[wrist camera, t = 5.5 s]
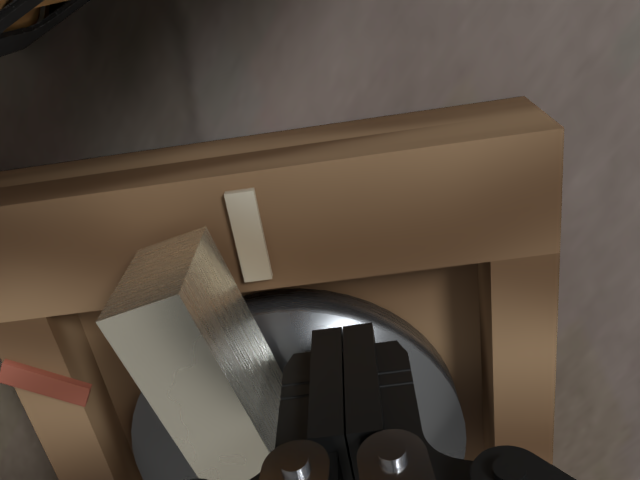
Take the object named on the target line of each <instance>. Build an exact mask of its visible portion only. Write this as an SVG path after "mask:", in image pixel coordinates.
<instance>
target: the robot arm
mask: <svg viewBox="0 0 640 480" xmlns="http://www.w3.org/2000/svg"><path fill="white" fill-rule="evenodd" d="M280 399H281V401H280V405H279V414H278V423H277V433H276V442H275V449H274V450H272V451H271V452H270V453H269V454H268V456H267V457H266V458H265V460H264V462H263V464H262V467H261V471H260V473H258V474H257V475H256V476H254V477H253V478H251V479H249V480H576V479H574V478H573V477H571V476H569V475H568V474H566V473H564V472H563V471H561V470H560V469H558V468H556V467H555V466H553V465H552V464H550V463H548V462H547V461H545V460H544V459H542V458H540V457H539V456H537V455H535V454H534V453H532V452H530V451H528V450H526V449H523V448H520V447H516V446H509V445H502V446H495V447H492V448H489V449H487V450H484V451H483V452H481V453H480V454H479V455H478V456H477V457H476V458H475V459H474V461H470V460H464V459H458V458H454V457H450V456H447V455H444V454H442V453H440V452H439V451H437V450H436V449H434V448H433V447H432V446H431V445H430V444H429V443H428V442H427V440H426V439H425V437H424V434H423V431H422V426H421V421H420V415H419V410H418V404H417V399H416V394H415V388H414V383H413V377H412V372H411V367H410V361H409V356H408V352H407V351H406V350H405V349H404V348H403V347H402V346H401V345H400V343H399V342H398V341H397V340H395V341H387V342H379V343H376V342H375V336H374V330H373V324H372V322H371V323H363V324H356V325H348V326H343V329H342V327H334V328H327V329H319V330H312V340H311V352H303V353H295V354H293V355H292V357H291V358H290V360H289V361H288V363H287V364H286V366H285V367H284V369H283V377H282V388H281V396H280ZM190 480H207V479H201V478H197V479H190Z"/></svg>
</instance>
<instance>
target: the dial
mask: <svg viewBox="0 0 640 480" xmlns="http://www.w3.org/2000/svg"><path fill="white" fill-rule="evenodd" d="M371 322H372V324H373V330H374V336H375V342H376V343H379V342H387V341H395V340H397V341H398V342H399V343H400V345H401V346H402V347H403V348H404V349H405V350H406V351H407V352H408V356H409V361H410V367H411V372H412V377H413V383H414V388H415V394H416V399H417V404H418V410H419V415H420V421H421V426H422V431H423V434H424V437H425V439H426V440H427V442H428V443H429V444H430V445H431V446H432V447H433V448H434V449H436V450H437V451H439V452H440V453H442V454H444V455H447V456H450V457H454V458H458V459H464V457H465V450H466V428H465V421H464V417H463V413H462V410H461V406H460V402H459V399H458V396H457V392H456V389H455V385H454V382H453V379H452V376H451V374H450V372H449V370H448V368H447V366H446V363H445V362H444V360H443V359H442V357H441V356H440V354H439V353H438V351H437V350H436V348H435V347H434V346H433V345H432V344H431V343H430V342H429V341H428V340H427V339H426V337H425V336H424V335H423V334H422V333H420V332H419V331H418V330H417V329H415V328H414V327H413V326H412V325H411V324H409V323H408V322H407V321H405V320H404V319H402V318H400V317H399V316H397V315H396V314H394V313H392V312H391V311H389V310H387V309H385V308H382V307H380V306H378V305H376V304H374V303H372V302H369V301H366V300H363V299H360V298H357V297H354V296H350V295H347V294H342V293H337V292H332V291H327V290H316V289H303V288H300V289H277V290H270V291H263V292H256V293H252V294H249V295H245V296H242V294H241V292H240V290H239V288H238V287H237V285H236V283H235V281H234V279H233V277H232V275H231V273H230V271H229V269H228V267H227V265H226V263H225V261H224V259H223V258H222V256H221V254H220V252H219V250H218V248H217V246H216V244H215V242H214V240H213V238H212V236H211V234H210V232H209V231H208V229H207V227H206V226H205V227H202V228H199V229H196V230H193V231H191V232H188V233H185V234H182V235H179V236H177V237H174V238H171V239H168V240H165V241H163V242H160V243H157V244H154V245H151V246H148V247H146V248H143V249H140V250H138V251H137V253H136V255H135V256H134V258H133V260H132V261H131V263H130V265H129V266H128V268H127V270H126V271H125V273H124V275H123V277H122V278H121V280H120V282H119V283H118V285H117V287H116V288H115V290H114V292H113V293H112V295H111V297H110V299H109V300H108V302H107V304H106V305H105V307H104V309H103V310H102V312H101V314H100V315H99V317H98V319H97V321H96V324H97V325H98V327H99V328H100V330H101V331H102V333H103V334H104V336H105V337H106V339H107V340H108V342H109V343H110V345H111V346H112V348H113V349H114V351H115V352H116V354H117V356H118V357H119V359H120V360H121V362H122V363H123V365H124V366H125V368H126V369H127V371H128V372H129V374H130V375H131V377H132V378H133V380H134V381H135V383H136V384H137V386H138V387H139V389H140V390H141V393H140V395H139V398H138V400H137V404H136V407H135V410H134V414H133V420H132V429H131V435H132V448H133V453H134V457H135V461H136V464H137V467H138V469H139V471H140V474H141V476H142V478H143V480H190V479H197V478H201V479H207V480H249V479H251V478H253V477H254V476H256V475H257V474H258V473H260V471H261V467H262V464H263V462H264V460H265V458H266V457H267V456H268V454H269V453H270V452H271V451H272V450H274V449H275V442H276V433H277V423H278V414H279V405H280V401H281V399H280V396H281V388H282V377H283V369H284V367H285V366H286V364H287V363H288V361H289V360H290V358H291V357H292V355H293V354H295V353H303V352H311V340H312V330H319V329H327V328H334V327H342V329H343V326H348V325H356V324H363V323H371Z"/></svg>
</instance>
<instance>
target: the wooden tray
mask: <svg viewBox="0 0 640 480" xmlns="http://www.w3.org/2000/svg"><path fill="white" fill-rule="evenodd" d="M563 149H564V127H562V126H561V125H560V124H559V123H557V122H556V121H555V120H554V119H552V118H551V117H550V116H549V115H547V114H546V113H545V112H544V111H542V110H541V109H540V108H539V107H537V106H536V105H535V104H534V103H532V102H531V101H530V100H529V99H527V98H526V97H525V96H522V97H515V98H508V99H501V100H494V101H487V102H480V103H473V104H466V105H459V106H452V107H445V108H438V109H431V110H424V111H418V112H411V113H404V114H397V115H390V116H383V117H376V118H369V119H362V120H355V121H348V122H341V123H334V124H327V125H320V126H313V127H306V128H299V129H292V130H285V131H278V132H271V133H264V134H257V135H250V136H243V137H236V138H229V139H223V140H216V141H209V142H202V143H195V144H188V145H181V146H174V147H167V148H160V149H153V150H146V151H139V152H132V153H125V154H118V155H111V156H104V157H97V158H90V159H83V160H76V161H69V162H62V163H55V164H48V165H41V166H34V167H28V168H21V169H14V170H7V171H0V359H1V361H2V366H1V371H0V383H3V384H6V385H10V386H13V387H14V388H15V390H16V392H17V394H18V396H19V398H20V400H21V402H22V405H23V407H24V409H25V411H26V413H27V415H28V417H29V419H30V421H31V423H32V425H33V427H34V429H35V432H36V434H37V436H38V438H39V440H40V442H41V444H42V446H43V448H44V450H45V452H46V454H47V456H48V459H49V461H50V463H51V465H52V467H53V469H54V471H55V473H56V475H57V477H58V479H59V480H143V478H142V476H141V474H140V471H139V469H138V467H137V464H136V461H135V457H134V453H133V448H132V435H131V429H132V420H133V414H134V410H135V407H136V404H137V400H138V398H139V395H140V393H141V390H140V389H139V387H138V386H137V384H136V383H135V381H134V380H133V378H132V377H131V375H130V374H129V372H128V371H127V369H126V368H125V366H124V365H123V363H122V362H121V360H120V359H119V357H118V356H117V354H116V352H115V351H114V349H113V348H112V346H111V345H110V343H109V342H108V340H107V339H106V337H105V336H104V334H103V333H102V331H101V330H100V328H99V327H98V325H97V324H96V321H97V319H98V317H99V315H100V314H101V312H102V310H103V309H104V307H105V305H106V304H107V302H108V300H109V299H110V297H111V295H112V293H113V292H114V290H115V288H116V287H117V285H118V283H119V282H120V280H121V278H122V277H123V275H124V273H125V271H126V270H127V268H128V266H129V265H130V263H131V261H132V260H133V258H134V256H135V255H136V253H137V251H138V250H140V249H143V248H146V247H148V246H151V245H154V244H157V243H160V242H163V241H165V240H168V239H171V238H174V237H177V236H179V235H182V234H185V233H188V232H191V231H193V230H196V229H199V228H202V227H205V226H206V227H207V229H208V231H209V232H210V234H211V236H212V238H213V240H214V242H215V244H216V246H217V248H218V250H219V252H220V254H221V256H222V258H223V259H224V261H225V263H226V265H227V267H228V269H229V271H230V273H231V275H232V277H233V279H234V281H235V283H236V285H237V287H238V288H239V290H240V292H241V294H242V296H245V295H249V294H252V293H256V292H263V291H270V290H277V289H300V288H303V289H316V290H327V291H332V292H337V293H342V294H347V295H350V296H354V297H357V298H360V299H363V300H366V301H369V302H372V303H374V304H376V305H378V306H380V307H382V308H385V309H387V310H389V311H391V312H392V313H394V314H396V315H397V316H399V317H400V318H402V319H404V320H405V321H407V322H408V323H409V324H411V325H412V326H413V327H414V328H415V329H417V330H418V331H419V332H420V333H422V334H423V335H424V336H425V337H426V339H427V340H428V341H429V342H430V343H431V344H432V345H433V346H434V347H435V348H436V350H437V351H438V353H439V354H440V356H441V357H442V359H443V360H444V362H445V363H446V366H447V368H448V370H449V372H450V374H451V376H452V379H453V382H454V385H455V389H456V392H457V396H458V399H459V402H460V406H461V410H462V413H463V417H464V421H465V428H466V450H465V457H464V460H470V461H474V459H475V458H476V457H477V456H478V455H479V454H480V453H481V452H483V451H484V450H487V449H489V448H492V447H495V446H502V445H509V446H516V447H520V448H523V449H526V450H528V451H530V452H532V453H534V454H535V455H537V456H539V457H540V458H542V459H544V460H545V461H547V462H548V463H550V464H552V463H553V435H554V406H555V378H556V349H557V320H558V292H559V263H560V235H561V206H562V178H563Z"/></svg>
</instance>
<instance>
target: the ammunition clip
mask: <svg viewBox="0 0 640 480" xmlns="http://www.w3.org/2000/svg"><path fill="white" fill-rule="evenodd" d="M88 1H90V0H0V57H1V56H4V55H7V54H10V53H13V52H16V51H19V50H21V49H24V48H26V47H27V46H28V45H30V44H31V43H32V42H34V41H35V40H37V39H38V38H39V37H41V36H42V35H43V34H45V33H46V32H47V31H49V30H50V29H52V28H53V27H54V26H56V25H57V24H58V23H60V22H61V21H63V20H64V19H65V18H67V17H68V16H69V15H71V14H72V13H73V12H75V11H76V10H78V9H79V8H80V7H82V6H83V5H84V4H86V3H87V2H88Z"/></svg>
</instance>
